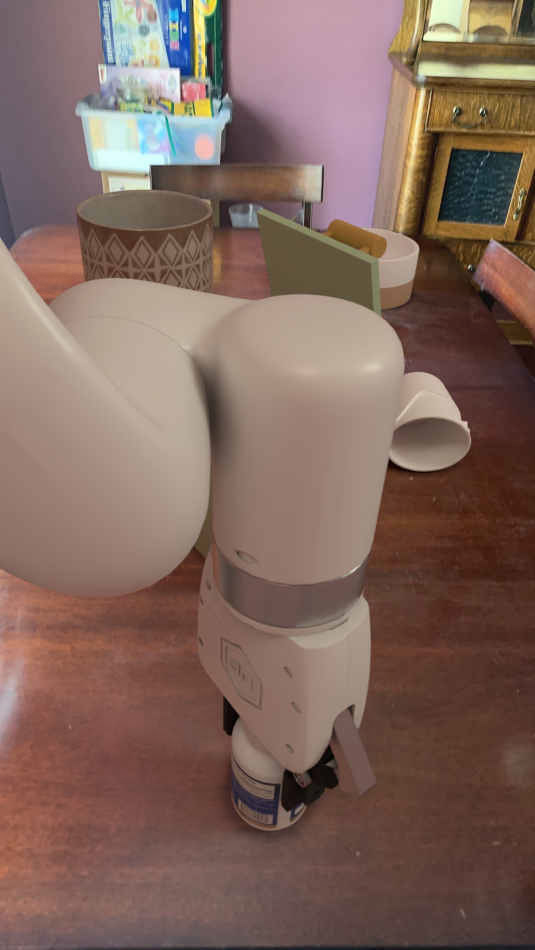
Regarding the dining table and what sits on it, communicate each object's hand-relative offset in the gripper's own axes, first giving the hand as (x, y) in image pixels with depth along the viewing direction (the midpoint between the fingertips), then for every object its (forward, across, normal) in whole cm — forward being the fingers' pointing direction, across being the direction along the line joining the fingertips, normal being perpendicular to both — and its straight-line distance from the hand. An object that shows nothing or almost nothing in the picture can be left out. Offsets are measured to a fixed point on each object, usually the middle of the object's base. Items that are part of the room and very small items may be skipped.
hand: (272, 755), depth 44 cm
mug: (+5, -24, +38) cm, 45 cm away
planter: (+5, -72, +32) cm, 79 cm away
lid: (-16, -23, +22) cm, 35 cm away
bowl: (+5, -62, +68) cm, 92 cm away
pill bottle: (+5, 0, 0) cm, 5 cm away
